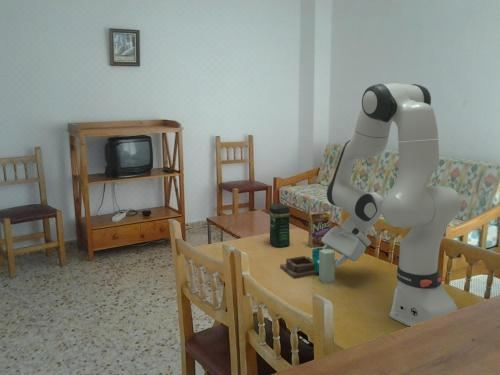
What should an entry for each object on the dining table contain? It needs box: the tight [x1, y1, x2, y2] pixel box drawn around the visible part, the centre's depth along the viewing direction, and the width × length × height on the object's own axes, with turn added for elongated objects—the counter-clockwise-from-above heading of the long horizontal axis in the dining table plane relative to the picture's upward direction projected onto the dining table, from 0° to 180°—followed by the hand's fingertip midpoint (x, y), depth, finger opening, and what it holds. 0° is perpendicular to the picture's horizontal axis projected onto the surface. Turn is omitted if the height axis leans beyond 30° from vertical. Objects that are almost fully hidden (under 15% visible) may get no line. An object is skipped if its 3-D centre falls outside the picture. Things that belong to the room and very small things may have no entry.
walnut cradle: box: [279, 255, 318, 280], centre depth 182 cm, size 12×12×4 cm
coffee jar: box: [269, 202, 291, 248], centre depth 212 cm, size 10×8×19 cm
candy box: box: [307, 210, 332, 248], centre depth 210 cm, size 9×4×15 cm, turn 98°
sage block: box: [318, 249, 336, 284], centre depth 172 cm, size 4×4×11 cm
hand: (328, 260), depth 172 cm, fingers open, 8 cm apart
